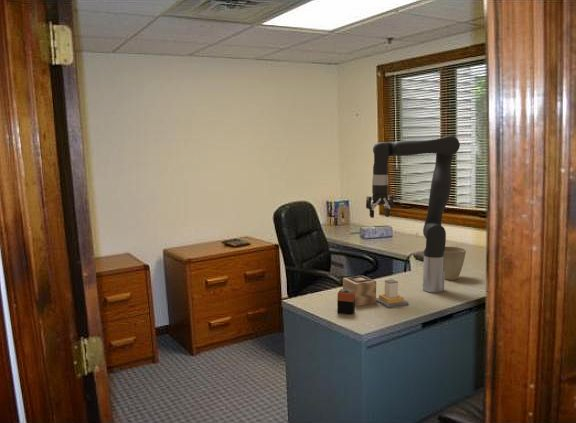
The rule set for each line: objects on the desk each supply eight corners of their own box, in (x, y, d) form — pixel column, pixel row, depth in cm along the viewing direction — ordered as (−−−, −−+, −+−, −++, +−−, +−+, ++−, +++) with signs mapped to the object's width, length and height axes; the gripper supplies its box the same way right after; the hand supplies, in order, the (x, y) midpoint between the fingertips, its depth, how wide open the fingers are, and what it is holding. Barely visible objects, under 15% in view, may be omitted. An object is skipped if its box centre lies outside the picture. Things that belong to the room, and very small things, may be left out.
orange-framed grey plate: (394, 298, 227) (394, 291, 227) (408, 304, 217) (408, 297, 217) (373, 300, 223) (374, 294, 223) (387, 308, 213) (387, 301, 213)
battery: (339, 310, 211) (339, 287, 210) (355, 311, 209) (355, 289, 207) (337, 313, 207) (337, 290, 205) (352, 315, 205) (353, 292, 203)
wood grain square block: (363, 296, 231) (363, 274, 229) (375, 302, 221) (376, 280, 219) (342, 299, 226) (342, 276, 225) (354, 305, 216) (355, 282, 215)
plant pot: (452, 273, 271) (454, 245, 269) (470, 280, 257) (472, 250, 255) (429, 276, 266) (430, 247, 264) (446, 283, 252) (448, 252, 250)
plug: (392, 298, 223) (392, 279, 222) (397, 301, 219) (397, 281, 218) (384, 299, 221) (384, 280, 220) (389, 302, 217) (389, 282, 216)
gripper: (371, 185, 229) (371, 219, 232) (397, 183, 235) (396, 217, 237) (363, 183, 236) (363, 217, 238) (388, 182, 242) (387, 215, 244)
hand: (379, 217), depth 238 cm, fingers open, 8 cm apart
